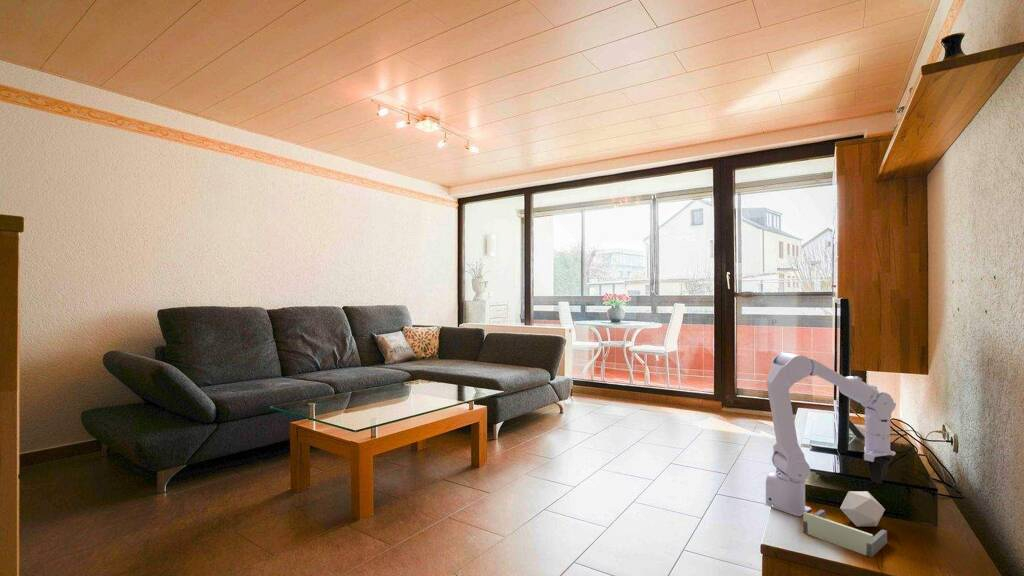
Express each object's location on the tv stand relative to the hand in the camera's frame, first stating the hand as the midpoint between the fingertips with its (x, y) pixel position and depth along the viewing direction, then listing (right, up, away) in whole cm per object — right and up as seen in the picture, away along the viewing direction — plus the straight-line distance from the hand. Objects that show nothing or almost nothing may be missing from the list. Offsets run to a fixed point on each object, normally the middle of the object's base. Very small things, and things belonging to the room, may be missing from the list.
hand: (877, 481), depth 136 cm
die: (-10, -9, -7) cm, 15 cm away
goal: (-20, -8, -15) cm, 26 cm away
